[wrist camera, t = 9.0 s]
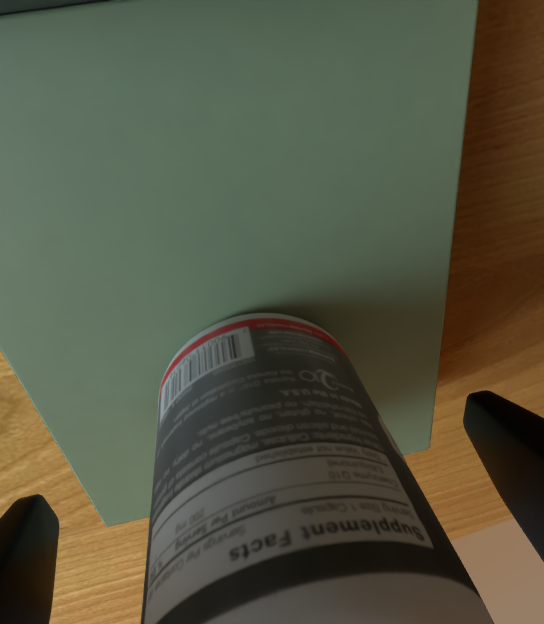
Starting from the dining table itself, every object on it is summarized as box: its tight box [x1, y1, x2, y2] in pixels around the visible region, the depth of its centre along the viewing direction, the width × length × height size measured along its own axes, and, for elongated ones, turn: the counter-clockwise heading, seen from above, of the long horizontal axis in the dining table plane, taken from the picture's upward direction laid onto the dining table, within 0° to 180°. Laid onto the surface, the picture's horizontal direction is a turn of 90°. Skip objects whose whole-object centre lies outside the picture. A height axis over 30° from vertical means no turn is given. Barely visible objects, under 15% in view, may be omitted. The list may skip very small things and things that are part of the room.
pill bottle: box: [141, 313, 494, 624], centre depth 7 cm, size 5×5×8 cm
